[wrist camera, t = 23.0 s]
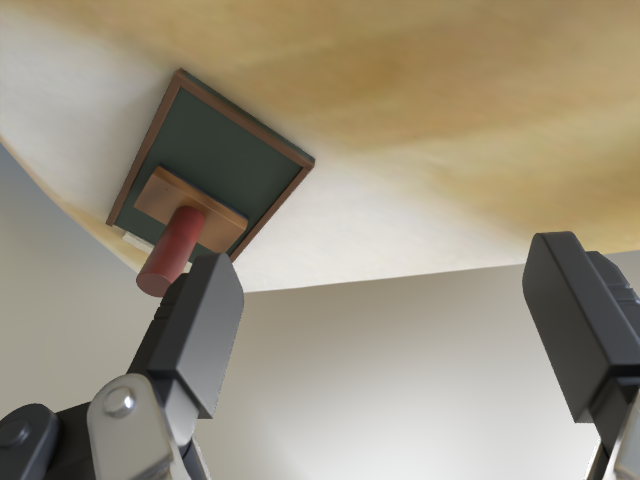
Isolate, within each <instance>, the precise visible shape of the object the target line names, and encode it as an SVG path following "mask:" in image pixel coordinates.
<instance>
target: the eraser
mask: <svg viewBox="0 0 640 480" xmlns="http://www.w3.org/2000/svg"><path fill="white" fill-rule="evenodd" d="M133 207H135V208H137V209H139V210H140V211H142V212H144V213H146V214H147V215H149V216H151V217H153V218H155V219H156V220H158V221H160V222H162V223H163V224H165V225H167V226H166V227H165V229H164V231H163V233H162V234H161V236H160V238H159V239H158V241H157V243H156V245H155V246H154V248H153V250H152V252H151V253H150V255H149V257H148V259H147V260H146V262H145V264H144V266H143V267H142V269H141V271H140V273H139V274H138V276H137V278H136V283H137V285H138V287H139V288H140V289H141V290H142V291H143V292H145V293H147V294H149V295H151V296H154V297H164V295H165V292H166V290H167V288H168V287H169V286H170V285H171V284H172V283H173V282H174V281H175V280H176V279H177V278H178V276H179V275H180V274H181V273H182V272H183V270H184V268H185V266H186V264H187V262H188V259H189V257H190V255H191V253H192V251H193V249H194V246H195V244H196V242H197V243H199V244H201V245H203V246H204V247H206V248H208V249H210V250H212V251H213V252H215V253H223V252H224V253H225V252H226V251H227V249H228V248H229V247H230V246H231V245H232V244H233V243H234V242H235V241H236V240H237V238H238V237H239V236H240V235H241V234H242V233H243V232H244V231H245V229H246V226H247V223H248V220H249V217H247V216H246V215H244V214H242V213H241V212H239V211H238V210H236V209H234V208H233V207H231V206H230V205H228V204H226V203H225V202H223V201H222V200H220V199H218V198H217V197H215V196H213V195H212V194H210V193H209V192H207V191H205V190H204V189H202V188H201V187H199V186H197V185H196V184H194V183H193V182H191V181H189V180H188V179H186V178H185V177H183V176H181V175H180V174H178V173H176V172H175V171H173V170H172V169H170V168H168V167H167V166H165V165H164V164H162V163H160V164H159V165H158V166H157V168H156V169H155V170H154V172H153V173H152V175H151V176H150V178H149V180H148V181H147V183H146V185H145V186H144V188H143V190H142V191H141V193H140V195H139V197H138V198H137V200H136V202H135V203H134V205H133Z"/></svg>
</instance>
